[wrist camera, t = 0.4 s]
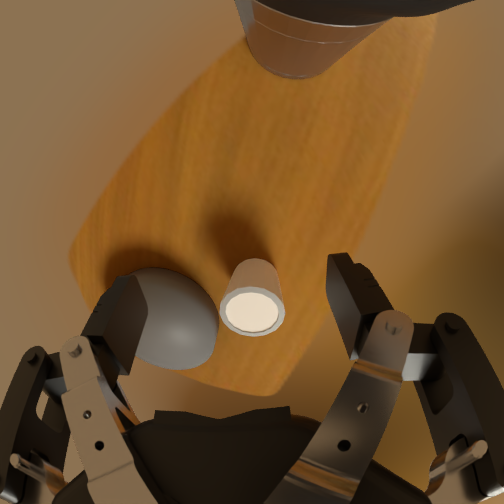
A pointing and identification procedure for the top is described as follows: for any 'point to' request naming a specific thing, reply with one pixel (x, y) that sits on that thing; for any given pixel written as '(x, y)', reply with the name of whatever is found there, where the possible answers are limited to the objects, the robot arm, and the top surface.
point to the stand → (176, 320)
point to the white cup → (253, 299)
